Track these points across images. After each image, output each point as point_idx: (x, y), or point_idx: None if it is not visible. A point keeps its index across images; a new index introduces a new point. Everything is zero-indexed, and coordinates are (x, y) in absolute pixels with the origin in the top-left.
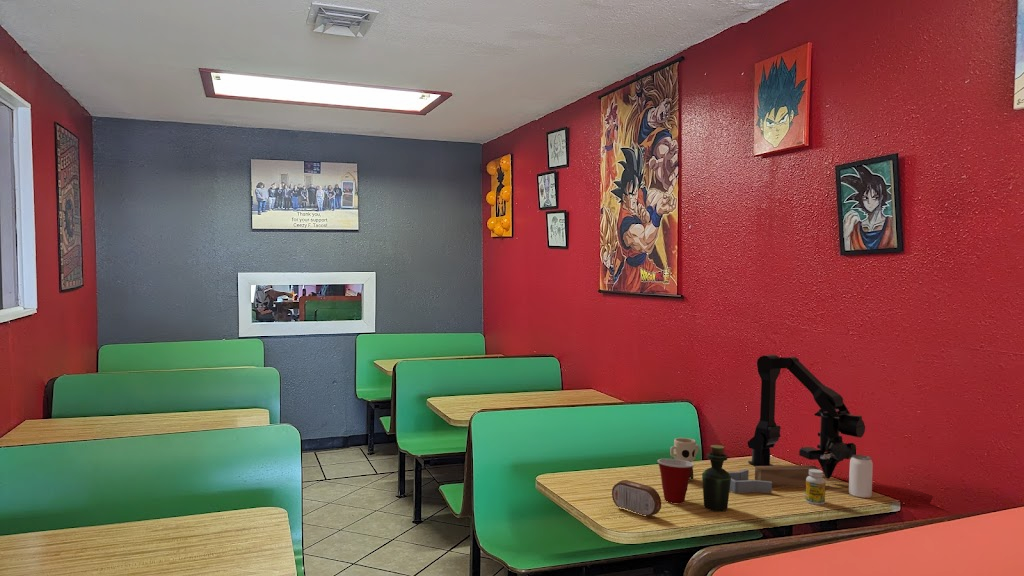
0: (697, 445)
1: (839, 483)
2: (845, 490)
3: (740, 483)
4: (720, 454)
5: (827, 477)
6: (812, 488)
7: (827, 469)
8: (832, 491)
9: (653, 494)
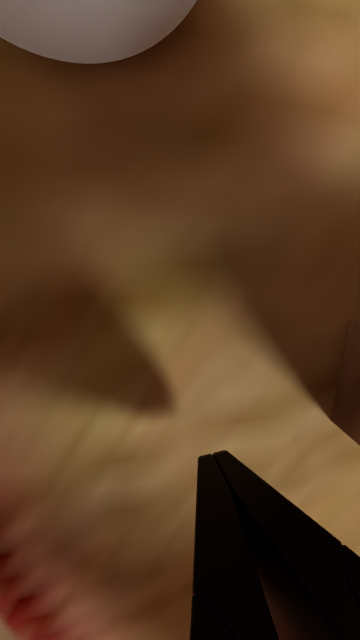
0: None
1: (83, 425)
2: (160, 162)
3: None
4: None
5: (234, 461)
6: None
7: (340, 547)
8: (337, 141)
9: None
